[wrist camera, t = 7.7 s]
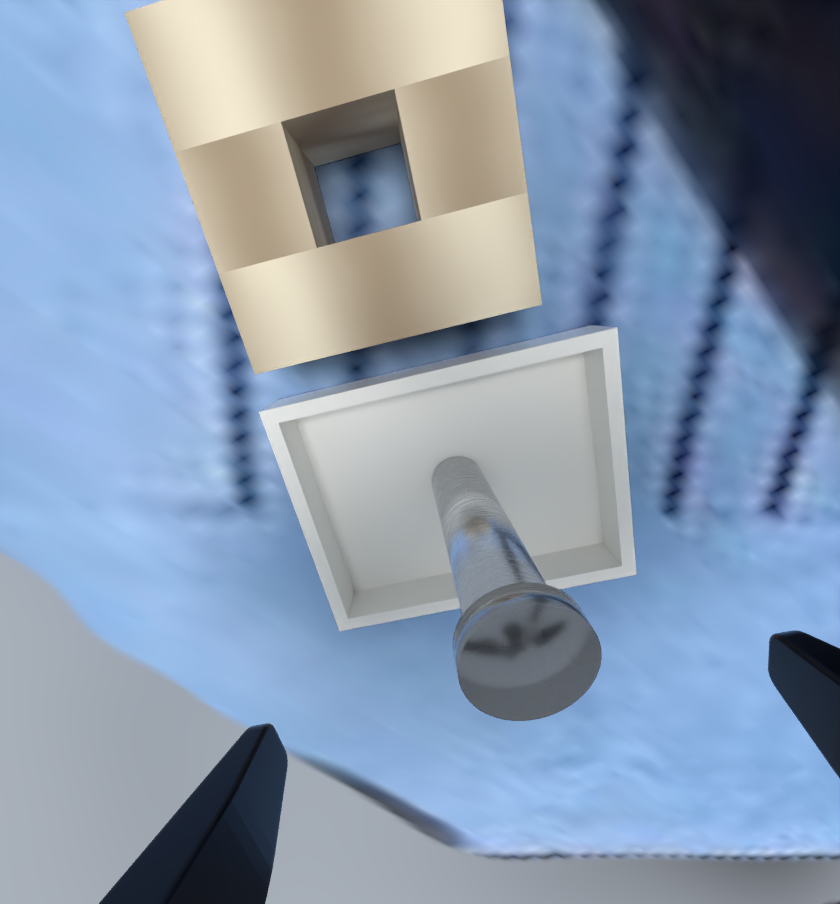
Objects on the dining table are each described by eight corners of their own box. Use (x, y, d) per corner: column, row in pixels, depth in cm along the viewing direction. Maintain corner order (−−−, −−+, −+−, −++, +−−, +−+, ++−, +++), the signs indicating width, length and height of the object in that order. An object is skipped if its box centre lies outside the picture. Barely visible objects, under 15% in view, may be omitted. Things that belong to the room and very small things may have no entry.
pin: (484, 440, 19) (594, 590, 9) (496, 502, 20) (606, 703, 10) (416, 457, 19) (444, 625, 9) (431, 518, 20) (472, 734, 10)
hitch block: (470, 6, 14) (488, -105, 10) (515, 306, 17) (542, 304, 14) (199, 87, 15) (124, 12, 11) (289, 361, 18) (254, 374, 14)
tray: (591, 325, 18) (617, 327, 15) (612, 544, 21) (636, 574, 19) (279, 399, 19) (258, 412, 16) (348, 596, 22) (339, 631, 20)
